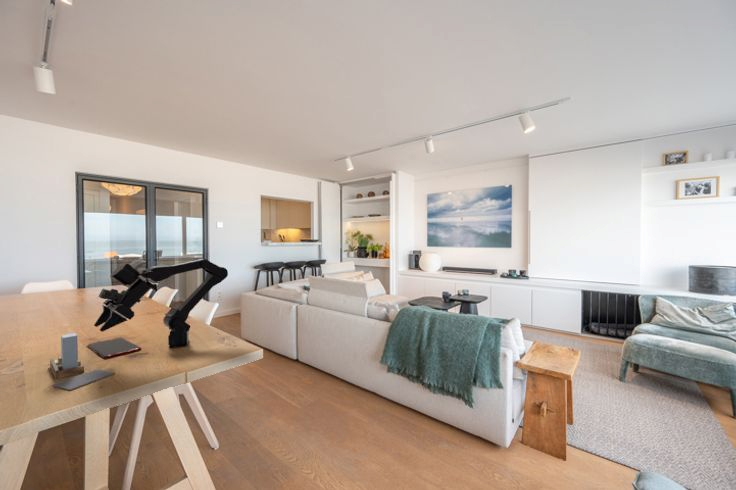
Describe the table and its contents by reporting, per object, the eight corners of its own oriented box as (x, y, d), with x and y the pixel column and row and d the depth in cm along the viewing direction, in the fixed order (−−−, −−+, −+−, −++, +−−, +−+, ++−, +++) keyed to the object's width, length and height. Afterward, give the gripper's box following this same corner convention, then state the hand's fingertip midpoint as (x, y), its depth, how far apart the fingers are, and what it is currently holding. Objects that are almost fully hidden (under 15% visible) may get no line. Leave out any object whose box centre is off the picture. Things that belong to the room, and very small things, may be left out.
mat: (97, 369, 106) (97, 368, 106) (114, 373, 103) (114, 372, 103) (52, 385, 95) (52, 384, 95) (70, 390, 92) (70, 389, 92)
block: (76, 368, 107) (75, 333, 107) (78, 371, 105) (77, 335, 104) (62, 372, 105) (61, 335, 104) (64, 375, 102) (62, 338, 102)
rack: (76, 360, 114) (76, 353, 114) (84, 371, 105) (83, 364, 105) (50, 366, 109) (50, 359, 109) (55, 378, 100) (55, 371, 100)
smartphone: (121, 336, 140) (142, 347, 125) (121, 339, 140) (142, 351, 125) (85, 344, 130) (104, 356, 115) (85, 347, 130) (104, 360, 115)
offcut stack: (77, 361, 114) (76, 352, 114) (79, 364, 111) (78, 354, 111) (54, 366, 109) (53, 357, 109) (55, 369, 107) (55, 360, 107)
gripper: (109, 278, 120) (71, 311, 112) (122, 282, 108) (80, 320, 100) (134, 295, 126) (100, 328, 118) (149, 301, 114) (112, 338, 106)
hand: (97, 328), depth 110 cm, fingers open, 9 cm apart
